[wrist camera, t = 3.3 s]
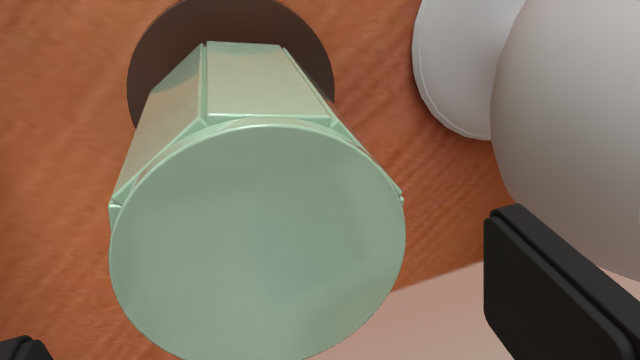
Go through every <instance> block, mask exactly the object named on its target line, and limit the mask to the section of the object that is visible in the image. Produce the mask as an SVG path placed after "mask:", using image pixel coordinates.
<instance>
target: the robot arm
mask: <svg viewBox="0 0 640 360" xmlns="http://www.w3.org/2000/svg"><path fill="white" fill-rule="evenodd" d="M484 314H485V317H486V320H487V322H488V324H489V326H490V327H491V328H492V330H493V331H494V333H495V334H496V335H497V337H498V338H499V339H500V341H501V342H502V343H503V345H504V346H505V348H506V349H507V350H508V352H509V353H510V354H511V356H512V357H513V358H514V360H640V302H639V301H638V300H637V299H636V298H634V297H633V296H632V295H631V294H630V293H628V292H627V291H626V290H625V289H624V288H622V287H621V286H620V285H619V284H618V283H616V282H615V281H614V280H613V279H611V278H610V277H609V276H608V275H606V274H605V273H604V272H603V271H602V270H600V269H599V268H598V267H597V266H596V265H594V264H593V263H592V262H591V261H590V260H588V259H587V258H586V257H584V256H583V255H582V254H581V253H580V252H578V251H577V250H576V249H575V248H574V247H572V246H571V245H570V244H569V243H568V242H566V241H565V240H564V239H563V238H561V237H560V236H559V235H558V234H557V233H555V232H554V231H553V230H552V229H551V228H549V227H548V226H547V225H546V224H545V223H543V222H542V221H541V220H540V219H538V218H537V217H536V216H535V215H534V214H532V213H531V212H530V211H529V210H528V209H526V208H525V207H524V206H523V205H521V204H518V203H516V204H512V205H508V206H505V207H501V208H497V209H494V210H492V211H491V213H490V217H489V218H486V219H485V220H484ZM0 360H53V358H52V357H51V355H50V353H49V352H48V350H47V349H46V347H45V345H44V344H43V343H42V342H41V341H40V340H33V339H32V338H31V337H29V336H27V335H23V336H19V337H16V338H12V339H8V340H4V341H1V342H0Z"/></svg>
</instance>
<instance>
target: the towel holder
mask: <svg viewBox="0 0 640 360" xmlns="http://www.w3.org/2000/svg"><path fill="white" fill-rule="evenodd" d="M207 41H216V42H234V43H252V44H270V45H280V46H281V48H282V49H283V48H286V49H287V50H288V52H289V53H290V54H291V55H292V56H293V57H294V58H295V60H296V61H297V62H298V63H299V64H300V65H301V67H302V68H303V69H304V70H305V71H306V72H307V73H308V75H309V76H310V77H311V78H312V79H313V80H314V82H315V83H316V84H317V85H318V86H319V87H320V88H321V90H322V91H323V92H324V93H325V94H326V95H327V96H328V98H329V99H330V100H331V102H332V103H333V104H334V93H335V88H334V77H333V73H332V68H331V64H330V61H329V58H328V56H327V53H326V51H325V49H324V47H323V45H322V43H321V41H320V40H319V38H318V37H317V35H316V34H315V33H314V31H313V30H312V29H311V28H310V27H309V25H308V24H307V23H306V22H305V21H304V20H303V19H302V18H301V17H299V16H298V15H297V14H296V13H295V12H293V11H292V10H291V9H290V8H288V7H287V6H285V5H284V4H282V3H280V2H279V1H277V0H179V1H177V2H176V3H174V4H172V5H171V6H169V7H168V8H167V9H165V10H164V11H163V12H162V13H161V14H159V15H158V16H157V17H156V19H155V20H154V21H153V22H152V23H151V24H150V25H149V26H148V28H147V29H146V31H145V33H144V34H143V36H142V37H141V39H140V40H139V42H138V44H137V46H136V48H135V51H134V53H133V55H132V58H131V62H130V65H129V69H128V77H127V100H128V106H129V111H130V114H131V118H132V121H133V124H134V126H135V128H136V129H137V126H138V123H139V120H140V118H141V115H142V112H143V110H144V107H145V104H146V101H147V99H148V96H149V94H150V91H151V90H152V89H153V88H155V87H156V86H157V85H158V84H159V83H160V82H161V81H162V80H163V79H164V78H165V77H166V76H167V75H168V74H169V73H170V72H171V71H172V70H173V69H174V68H175V67H177V66H178V65H179V64H180V63H181V62H182V61H183V60H184V59H185V58H186V57H187V56H188V55H189V54H190V53H191V52H192V51H193V50H194V49H195V48H196V47H197V46H199V45H200V44H201V43H202V44H204V45H205V46H206V42H207Z"/></svg>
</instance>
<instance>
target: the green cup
mask: <svg viewBox="0 0 640 360" xmlns="http://www.w3.org/2000/svg"><path fill="white" fill-rule="evenodd" d="M401 194H402V190H401V189H400V188H399V187H398V185H397V184H396V183H395V182H394V180H393V179H392V178H391V176H390V175H389V174H388V173H387V171H386V170H385V169H384V168H383V166H382V165H381V164H380V162H379V161H378V160H377V159H376V157H375V156H374V155H373V154H372V152H371V151H370V150H369V149H368V147H367V146H366V145H365V143H364V142H363V141H362V140H361V138H360V137H359V136H358V135H357V133H356V132H355V131H354V129H353V128H352V127H351V126H350V124H349V123H348V122H347V121H346V119H345V118H344V117H343V115H342V114H341V113H340V112H339V110H338V109H337V108H336V107H335V105H334V104H333V103H332V102H331V100H330V99H329V98H328V96H327V95H326V94H325V93H324V92H323V91H322V90H321V88H320V87H319V86H318V85H317V84H316V83H315V82H314V80H313V79H312V78H311V77H310V76H309V75H308V73H307V72H306V71H305V70H304V69H303V68H302V67H301V65H300V64H299V63H298V62H297V61H296V60H295V58H294V57H293V56H292V55H291V54H290V53H289V52H288V50H287V49H286V48H283V49H282V48H281V46H280V45H270V44H252V43H234V42H216V41H207V42H206V46H205V45H204V44H202V43H201V44H200V45H199V46H197V47H196V48H195V49H194V50H193V51H192V52H191V53H190V54H189V55H188V56H187V57H186V58H185V59H184V60H183V61H182V62H181V63H180V64H179V65H178V66H177V67H175V68H174V69H173V70H172V71H171V72H170V73H169V74H168V75H167V76H166V77H165V78H164V79H163V80H162V81H161V82H160V83H159V84H158V85H157V86H156V87H155V88H153V89H152V90H151V91H150V94H149V96H148V99H147V101H146V104H145V107H144V110H143V112H142V115H141V118H140V120H139V123H138V126H137V129H136V131H135V134H134V137H133V140H132V142H131V145H130V148H129V150H128V153H127V156H126V159H125V161H124V164H123V167H122V169H121V172H120V175H119V178H118V180H117V183H116V186H115V188H114V191H113V194H112V197H111V199H110V202H109V205H108V214H109V222H110V230H111V236H110V244H109V252H108V261H109V274H110V279H111V283H112V288H113V290H114V293H115V295H116V298H117V300H118V303H119V305H120V306H121V308H122V309H123V311H124V313H125V314H126V316H127V318H128V319H129V320H130V321H131V323H132V324H133V325H134V326H135V327H136V328H137V330H138V331H139V332H141V333H142V334H143V335H144V336H145V337H146V338H147V339H148V340H150V341H151V342H152V343H154V344H155V345H157V346H158V347H160V348H161V349H163V350H164V351H166V352H168V353H170V354H172V355H174V356H176V357H178V358H181V359H184V360H304V359H307V358H310V357H312V356H315V355H317V354H319V353H321V352H324V351H326V350H328V349H329V348H331V347H333V346H335V345H336V344H338V343H340V342H341V341H343V340H344V339H346V338H347V337H348V336H350V335H351V334H353V333H354V332H355V331H356V330H357V329H359V328H360V327H361V326H362V325H363V324H364V323H366V322H367V321H368V319H369V318H370V317H371V316H372V315H373V314H374V313H375V312H376V311H377V309H378V308H379V307H380V305H381V304H382V303H383V301H384V300H385V299H386V297H387V296H388V294H389V292H390V291H391V289H392V287H393V285H394V283H395V281H396V279H397V276H398V274H399V272H400V268H401V265H402V261H403V258H404V251H405V244H406V225H405V219H404V213H403V209H402V207H403V202H404V199H403V197H402V196H401Z"/></svg>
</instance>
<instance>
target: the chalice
mask: <svg viewBox="0 0 640 360" xmlns="http://www.w3.org/2000/svg"><path fill="white" fill-rule="evenodd" d="M412 60H413V72H414V77H415V80H416V83H417V86H418V89H419V92H420V96H421V97H422V99H423V101H424V102H425V104H426V105H427V107H428V109H429V110H430V112H431V113H432V115H433V116H434V117H436V118H437V119H438V120H439V121H440V122H441V123H442V124H443V125H444V126H445V127H447V128H448V129H450V130H452V131H454V132H456V133H458V134H460V135H462V136H464V137H469V138H474V139H479V140H491V143H492V147H493V150H494V154H495V157H496V161H497V164H498V168H499V172H500V174H501V177H502V179H503V182H504V184H505V187H506V189H507V191H508V192H509V194H510V195H511V197H512V198H513V200H514V201H515V203H518V204H521V205H523V206H524V207H525V208H526V209H528V210H529V211H530V212H531V213H532V214H534V215H535V216H536V217H537V218H538V219H540V220H541V221H542V222H543V223H545V224H546V225H547V226H548V227H549V228H551V229H552V230H553V231H554V232H555V233H557V234H558V235H559V236H560V237H561V238H563V239H564V240H565V241H566V242H568V243H569V244H570V245H571V246H572V247H574V248H575V249H576V250H577V251H578V252H580V253H581V254H582V255H583V256H584V257H586V258H587V259H588V260H590V261H591V262H592V263H593V264H595V265H597V266H599V267H601V268H603V269H606V270H608V271H611V272H613V273H616V274H619V275H621V276H624V277H627V278H629V279H633V280H635V281H639V282H640V0H422V3H421V6H420V9H419V12H418V15H417V18H416V21H415V26H414V34H413V42H412Z"/></svg>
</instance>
